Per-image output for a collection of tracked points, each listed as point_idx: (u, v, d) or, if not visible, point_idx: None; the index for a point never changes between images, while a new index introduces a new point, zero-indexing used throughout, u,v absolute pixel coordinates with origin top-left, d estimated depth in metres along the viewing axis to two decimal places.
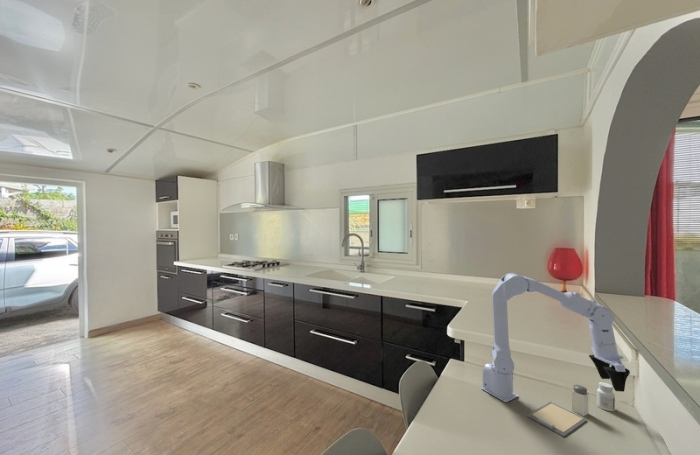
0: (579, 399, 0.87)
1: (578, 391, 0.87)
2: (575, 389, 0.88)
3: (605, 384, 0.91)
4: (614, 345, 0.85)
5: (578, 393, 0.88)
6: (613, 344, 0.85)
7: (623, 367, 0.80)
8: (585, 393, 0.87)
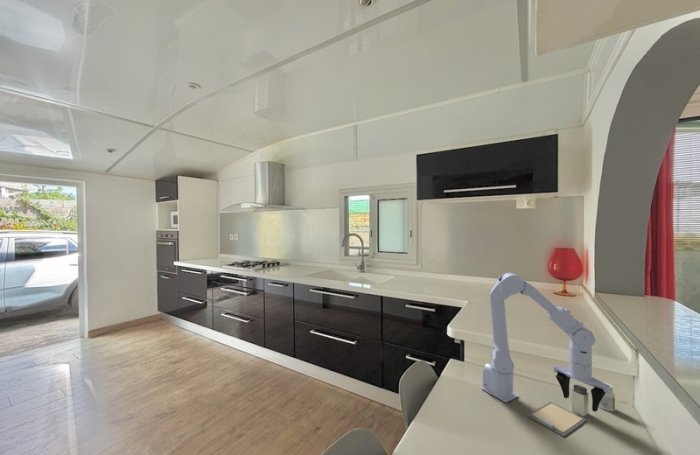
0: (579, 399, 0.87)
1: (578, 391, 0.87)
2: (575, 389, 0.88)
3: None
4: None
5: (578, 393, 0.87)
6: None
7: (610, 388, 0.82)
8: (585, 393, 0.87)
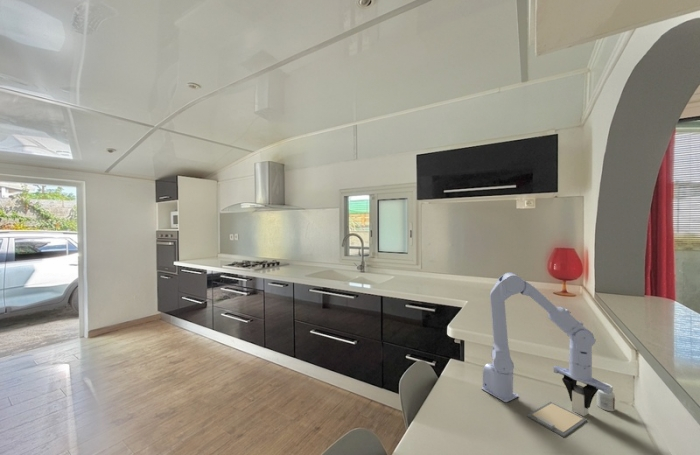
0: (579, 399, 0.87)
1: (578, 391, 0.87)
2: (575, 389, 0.88)
3: None
4: None
5: (578, 393, 0.88)
6: None
7: (610, 388, 0.82)
8: None
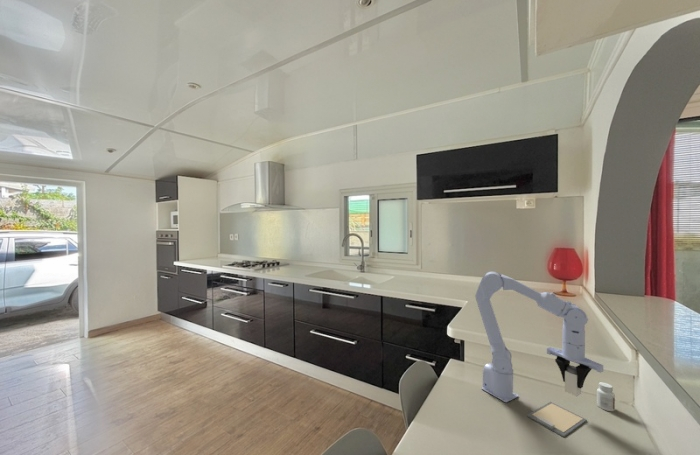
0: (572, 379, 0.86)
1: (571, 371, 0.87)
2: (568, 369, 0.87)
3: (605, 384, 0.91)
4: None
5: (571, 373, 0.87)
6: None
7: None
8: None
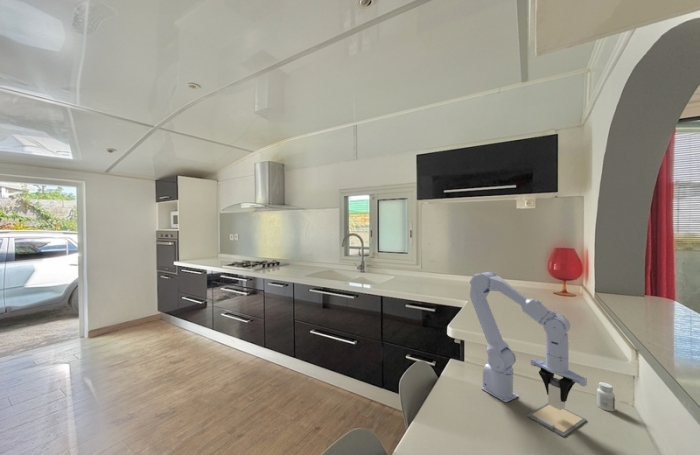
0: (555, 392, 0.84)
1: (554, 384, 0.84)
2: (551, 382, 0.85)
3: (605, 384, 0.91)
4: None
5: (555, 386, 0.84)
6: None
7: (586, 381, 0.79)
8: None
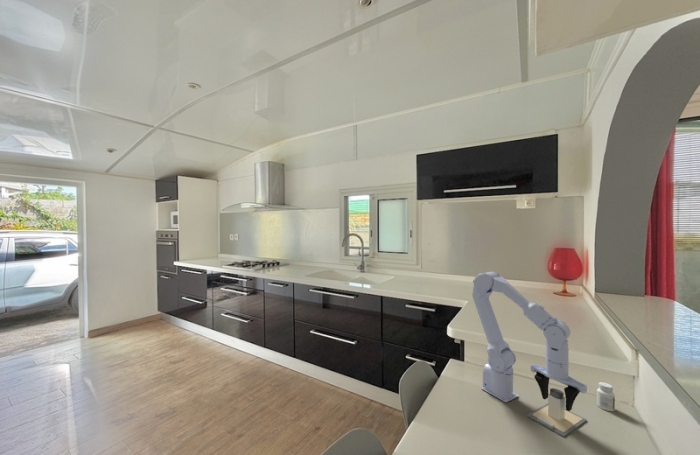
0: (555, 403, 0.84)
1: (554, 395, 0.84)
2: (551, 393, 0.85)
3: (605, 384, 0.91)
4: None
5: (555, 397, 0.84)
6: None
7: (586, 387, 0.79)
8: (561, 397, 0.83)
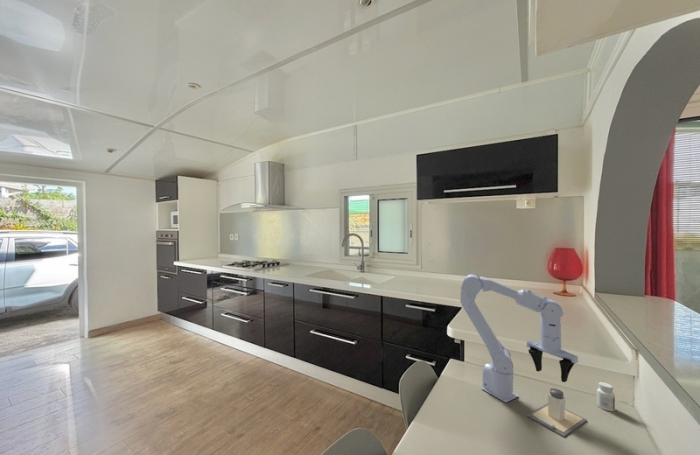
0: (555, 403, 0.84)
1: (554, 395, 0.84)
2: (551, 393, 0.85)
3: (605, 384, 0.91)
4: None
5: (555, 397, 0.84)
6: (560, 337, 0.90)
7: (577, 358, 0.85)
8: (561, 397, 0.83)
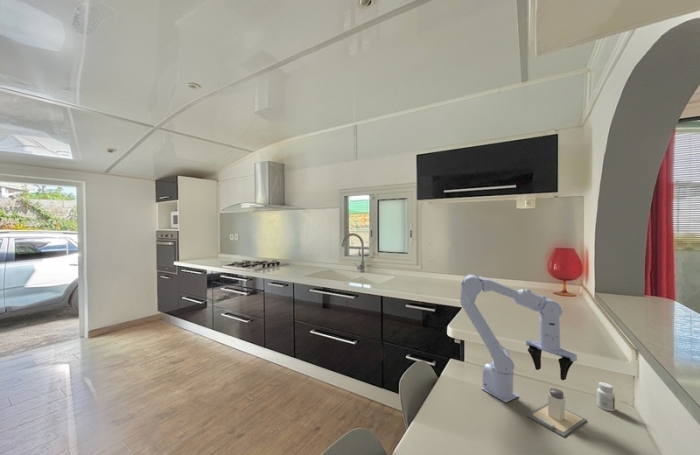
0: (555, 403, 0.84)
1: (554, 395, 0.84)
2: (551, 393, 0.85)
3: (605, 384, 0.91)
4: None
5: (555, 397, 0.84)
6: (559, 336, 0.91)
7: (576, 356, 0.86)
8: (561, 397, 0.83)
